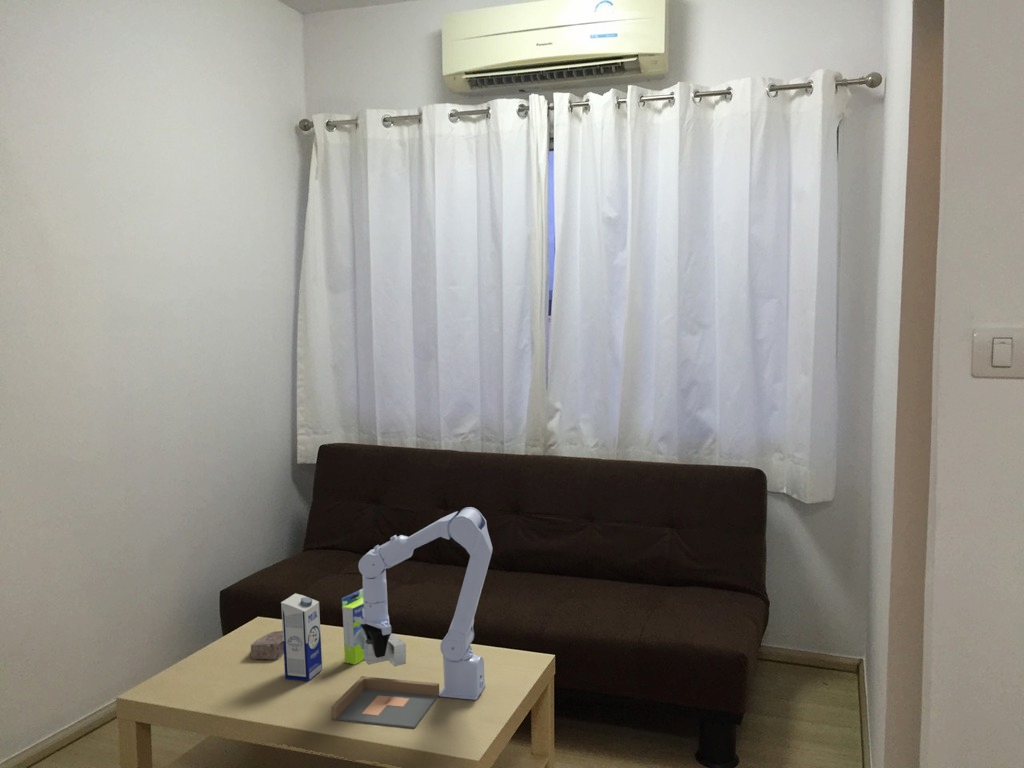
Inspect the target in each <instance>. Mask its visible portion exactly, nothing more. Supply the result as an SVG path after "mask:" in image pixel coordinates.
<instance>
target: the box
mask: <svg viewBox="0 0 1024 768" xmlns="http://www.w3.org/2000/svg"><path fill="white" fill-rule="evenodd" d="M355 595H356V597H354V596H355ZM352 597H354V598H352ZM362 609H364V602H363V588H361V589H359V590H356V591H355V592H352V593H351V594H348V595H346V596H344V597H342V598H341V610H342V624H343V625H342V626H343V645H344V648H343V649H344V663H346V664H349V663H350V664H349V665H357V664H358V663H361V662H362V661H363V660H364V640H367V637H366V634H365V632H364V630H363V628H362V627H361V623H360V619H363V616H362ZM364 661H365V660H364Z"/></svg>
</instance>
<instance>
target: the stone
mask: <svg viewBox="0 0 1024 768" xmlns="http://www.w3.org/2000/svg"><path fill="white" fill-rule="evenodd" d="M283 655H284V646H283V630H277V631H272V632H269V633H267V634H265V635H263V636H261V637H258V638H257V639H256V640H254V641H253V643H251V644H250V658H252V659H253V660H268V661H269V660H274V661H277V660H279V659H280V658H281V657H282V656H283Z"/></svg>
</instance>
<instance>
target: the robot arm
mask: <svg viewBox="0 0 1024 768" xmlns="http://www.w3.org/2000/svg"><path fill="white" fill-rule="evenodd" d="M488 530H489V529H488V525H487V520H486V518H485V517H484V516H483V514H482V513H481V512H480V510H478V509H477V508H475V507H472V506H470V507H469V506H468V507H464V508H462V509H461V510H460V511H454V512H452V513H450V514H448V515H446V516H445V515H444V517H443V516H442V517H441V518H440V519H438V520H435V521H434V522H433V523H431V524H428V525H427V526H426V527H423V528H422V529H420V530H418V531H417V532H415V533H413V534H412V535H410V536H407V535H403V534H400V535H399V536H397V534H395V535H393V536H391V537H390V538H389V539H390V540H389V541H386V542H385V543H383V544H381V545H379V544H377V545H375V546H374V547H373V549H370V550H369V551H368V552H366V554H364V555H363V556H362V557H360V559H359V562H358V570H359V573H360V574H361V575H362V589H363V602H364V609H362V616H363V619H360V623H361V627H362V628H363V630H364V632H365V634H366V637H367V640H368V639H372V642H373V646H374V652H375V656H376V657H377V658H379V657H383V656H385V653H386V648H387V643H388V640H389V637H390V635H392V633H393V628H392V625H391V624H390V616H389V611H388V610H389V608H388V607H389V606H388V590H387V589H388V587H387V571H386V569H391V568H392V567H394V566H397V565H398V564H400V563H402V562H404V561H406V560H408V559H409V558H412V556H413V554H414V550H415V549H417V548H419V547H422V546H423V545H425V544H428V543H430V542H432V541H434V540H437V539H438V538H443V539H445V540H450V539H451V538H452V539H453V540H454V541H455V542H457V543H458V544H460V546H461V547H463V548H464V549H465V550H466V552H467V554H469V558H468V559H469V560H468V564H467V566H466V571H465V575H464V578H463V582H462V586H461V589H460V593H459V596H458V599H457V604H456V607H455V609H454V610H455V612H454V614H453V618H452V620H451V623H450V625H449V628H448V632H447V633H446V635H445V636H444V637H443V639H442V640H441V642H440V649H439V650H440V652H441V654H442V661H443V663H442V664H443V666H442V667H443V687H442V688H441V690H439V696H438V697H443V698H454V699H463V700H473V701H475V700H477V699H478V698H479V696H480V695H481V693H482V692H483V690H484V689H485V687H486V682H485V662H484V661H485V660H484V658H483V657H482V656H480V655H476V654H474V651H473V648H472V646H471V643H472V642H473V641H474V639H475V631H474V623H475V615H476V612H477V609H478V605H479V601H480V598H481V593H482V589H483V587H484V584H485V579H486V576H487V573H488V568H489V565H490V562H491V558H492V554H493V545H492V541H491V537H490V535H489V531H488Z"/></svg>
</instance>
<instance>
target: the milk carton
mask: <svg viewBox="0 0 1024 768" xmlns="http://www.w3.org/2000/svg"><path fill="white" fill-rule="evenodd" d="M280 604H281V607H280V608H281V624H282V626H281V627H282V631H283V646H284V653H283V663H284V679H286V680H294V681H303V682H310V681H312V679H313V678H314V677H316V676H317V675H318V674H319V673H320V672H322V671H323V659H322V658H323V655H322V654H323V653H322V639H321V637H322V636H321V620H320V618H321V617H320V601H318V600H316V599H313V598H311V597H308V596H306V595H303V594H299V593H296V592H295V593H294V594H292V595H290V596H289V597H288V598H286V599H284V600H282V601H281V602H280ZM321 670H322V671H321Z"/></svg>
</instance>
